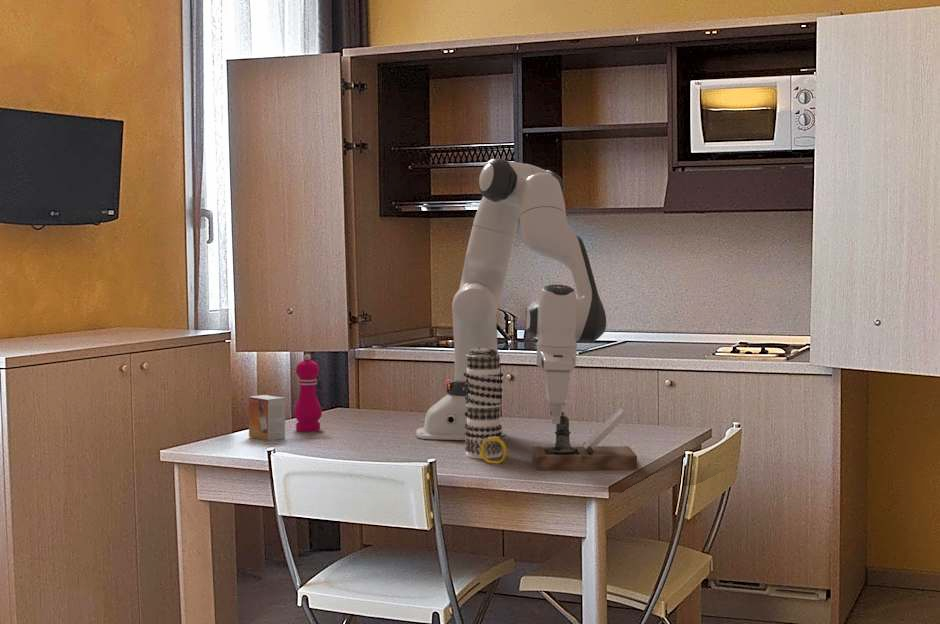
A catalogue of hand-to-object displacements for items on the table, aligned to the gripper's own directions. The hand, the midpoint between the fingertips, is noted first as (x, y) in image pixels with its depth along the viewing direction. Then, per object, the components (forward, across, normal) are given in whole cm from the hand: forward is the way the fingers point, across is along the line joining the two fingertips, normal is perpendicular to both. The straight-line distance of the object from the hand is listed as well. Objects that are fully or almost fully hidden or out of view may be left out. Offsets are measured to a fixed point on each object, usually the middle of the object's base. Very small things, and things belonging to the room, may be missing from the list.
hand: (554, 420), depth 269 cm
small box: (+12, -35, -70) cm, 79 cm away
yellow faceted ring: (+11, -3, -13) cm, 17 cm away
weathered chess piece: (+10, +1, +2) cm, 10 cm away
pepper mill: (+12, -47, -62) cm, 79 cm away
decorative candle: (+11, -12, -16) cm, 22 cm away
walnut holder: (+10, -1, +7) cm, 12 cm away
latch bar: (+2, -1, +12) cm, 12 cm away
